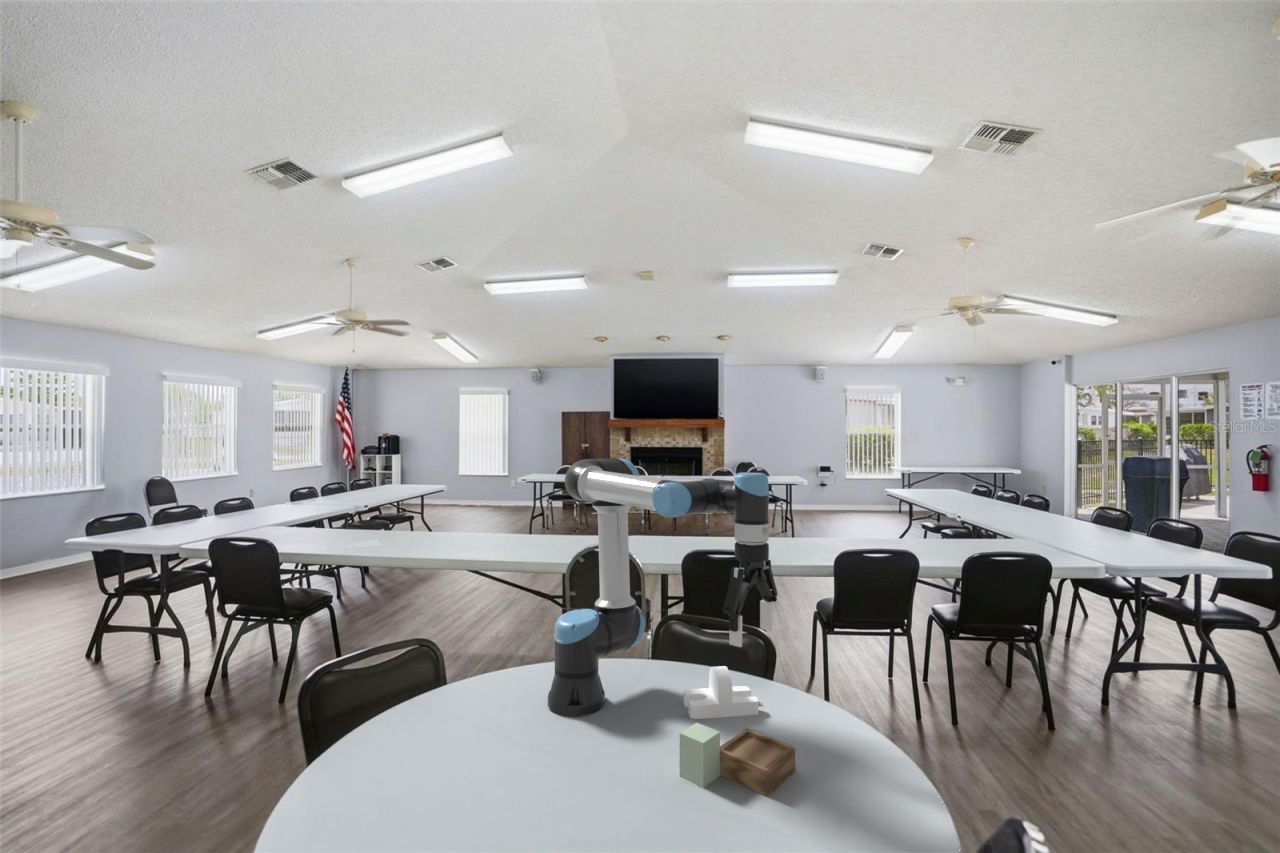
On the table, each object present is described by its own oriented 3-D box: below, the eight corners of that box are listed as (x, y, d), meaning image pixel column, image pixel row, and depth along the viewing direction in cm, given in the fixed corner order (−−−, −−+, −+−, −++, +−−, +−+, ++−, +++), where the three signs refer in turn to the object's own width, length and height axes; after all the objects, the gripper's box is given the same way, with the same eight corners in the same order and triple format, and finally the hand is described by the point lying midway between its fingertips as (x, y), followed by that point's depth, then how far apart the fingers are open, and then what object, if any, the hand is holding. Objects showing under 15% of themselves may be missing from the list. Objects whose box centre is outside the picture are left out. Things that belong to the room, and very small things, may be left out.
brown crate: (716, 773, 122) (716, 749, 122) (746, 750, 131) (746, 728, 131) (766, 796, 114) (766, 771, 114) (795, 771, 123) (795, 747, 123)
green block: (679, 776, 120) (679, 732, 121) (696, 764, 125) (696, 722, 125) (703, 788, 116) (703, 743, 117) (719, 775, 121) (719, 731, 121)
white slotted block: (682, 703, 155) (682, 662, 155) (747, 698, 157) (747, 658, 158) (691, 720, 145) (691, 677, 145) (759, 715, 148) (759, 672, 148)
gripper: (737, 552, 118) (737, 657, 117) (792, 536, 137) (792, 627, 136) (706, 547, 123) (706, 648, 122) (763, 533, 142) (763, 620, 141)
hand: (751, 637), depth 129 cm, fingers open, 13 cm apart
